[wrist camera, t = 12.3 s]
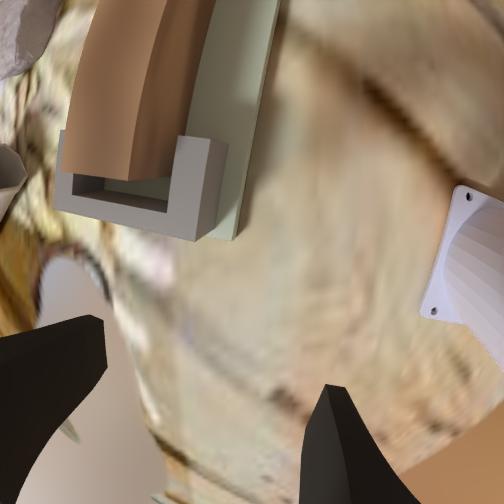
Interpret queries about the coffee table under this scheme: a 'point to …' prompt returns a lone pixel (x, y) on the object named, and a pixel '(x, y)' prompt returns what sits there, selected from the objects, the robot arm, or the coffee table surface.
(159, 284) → the coffee table surface
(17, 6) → the stone block
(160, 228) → the end cap cradle
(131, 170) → the slat
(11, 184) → the tube
